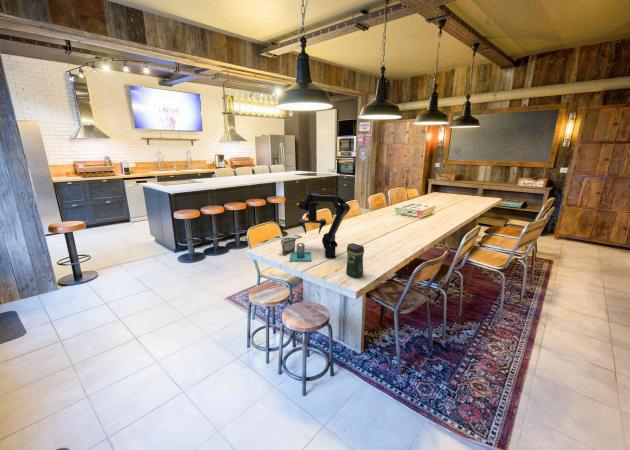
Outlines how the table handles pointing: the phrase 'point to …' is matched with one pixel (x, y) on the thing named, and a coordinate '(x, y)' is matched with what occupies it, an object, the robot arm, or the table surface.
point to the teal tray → (294, 258)
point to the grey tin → (300, 250)
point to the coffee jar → (355, 260)
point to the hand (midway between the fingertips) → (312, 233)
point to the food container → (288, 245)
